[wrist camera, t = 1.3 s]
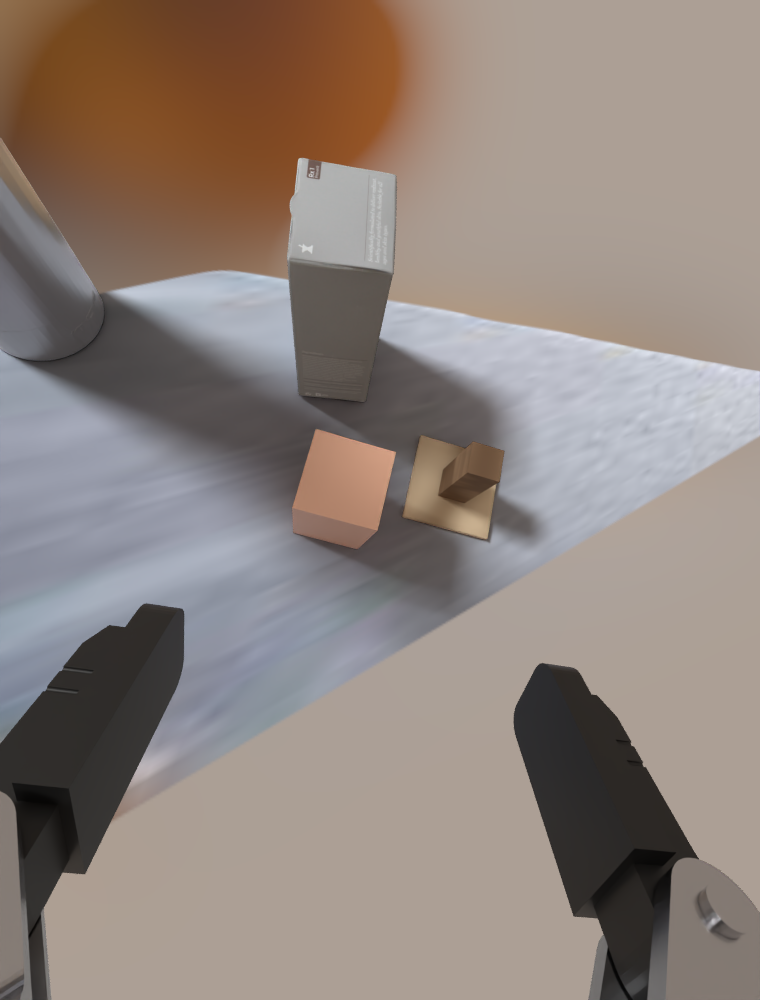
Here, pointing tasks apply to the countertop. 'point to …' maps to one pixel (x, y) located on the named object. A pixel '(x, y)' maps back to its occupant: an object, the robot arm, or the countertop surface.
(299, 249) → the skincare box
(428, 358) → the countertop surface
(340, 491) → the tan rectangular prism
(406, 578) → the countertop surface
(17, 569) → the countertop surface
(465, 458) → the wooden peg stand
